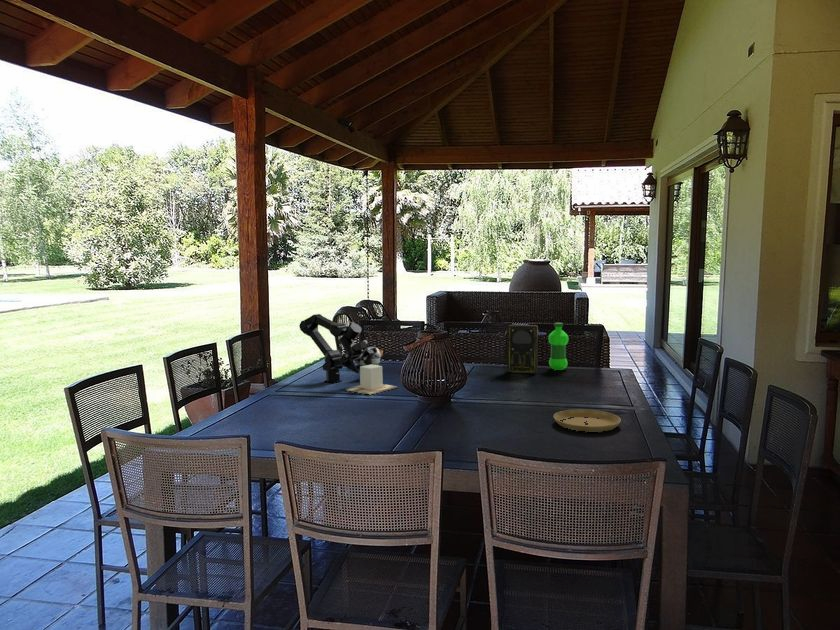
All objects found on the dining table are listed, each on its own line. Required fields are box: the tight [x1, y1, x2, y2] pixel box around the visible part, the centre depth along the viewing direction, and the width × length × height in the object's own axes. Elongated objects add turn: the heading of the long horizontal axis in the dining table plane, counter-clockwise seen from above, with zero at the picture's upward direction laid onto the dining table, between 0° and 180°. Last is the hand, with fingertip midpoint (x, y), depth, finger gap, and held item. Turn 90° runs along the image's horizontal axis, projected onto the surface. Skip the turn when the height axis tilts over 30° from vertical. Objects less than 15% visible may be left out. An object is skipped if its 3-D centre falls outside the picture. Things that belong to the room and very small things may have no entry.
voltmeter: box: [507, 324, 539, 375], centre depth 330 cm, size 16×9×25 cm, turn 73°
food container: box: [360, 357, 381, 367], centre depth 322 cm, size 12×6×10 cm, turn 143°
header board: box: [345, 383, 398, 396], centre depth 296 cm, size 16×18×4 cm
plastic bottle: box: [547, 322, 570, 371], centre depth 335 cm, size 10×10×25 cm
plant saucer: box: [553, 409, 622, 433], centre depth 234 cm, size 24×24×3 cm
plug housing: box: [359, 364, 384, 390], centre depth 296 cm, size 7×7×10 cm
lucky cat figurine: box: [353, 346, 384, 367], centre depth 353 cm, size 15×12×14 cm
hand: (365, 371), depth 298 cm, fingers open, 9 cm apart
